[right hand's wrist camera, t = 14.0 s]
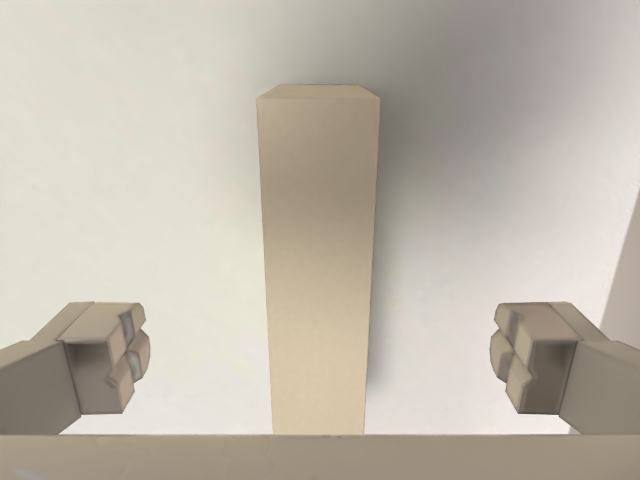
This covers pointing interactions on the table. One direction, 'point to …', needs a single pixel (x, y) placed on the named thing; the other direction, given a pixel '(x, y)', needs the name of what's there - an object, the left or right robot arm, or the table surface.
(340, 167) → the box
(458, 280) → the table surface
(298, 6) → the table surface
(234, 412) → the table surface
